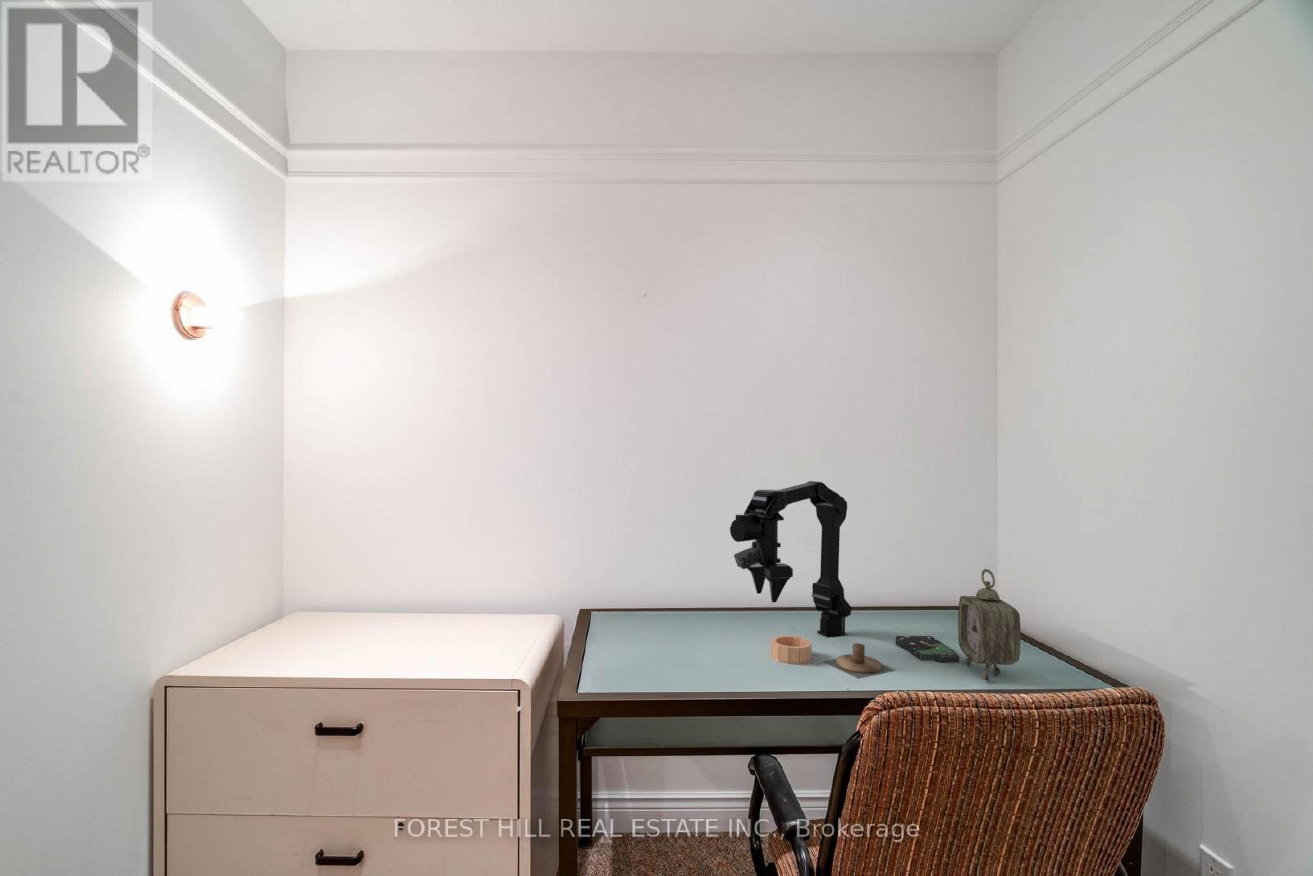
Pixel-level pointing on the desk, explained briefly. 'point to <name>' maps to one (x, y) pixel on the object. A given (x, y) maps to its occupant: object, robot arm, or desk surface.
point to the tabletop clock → (988, 629)
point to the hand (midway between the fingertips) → (766, 597)
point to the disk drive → (927, 648)
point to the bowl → (791, 649)
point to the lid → (858, 661)
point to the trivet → (858, 675)
